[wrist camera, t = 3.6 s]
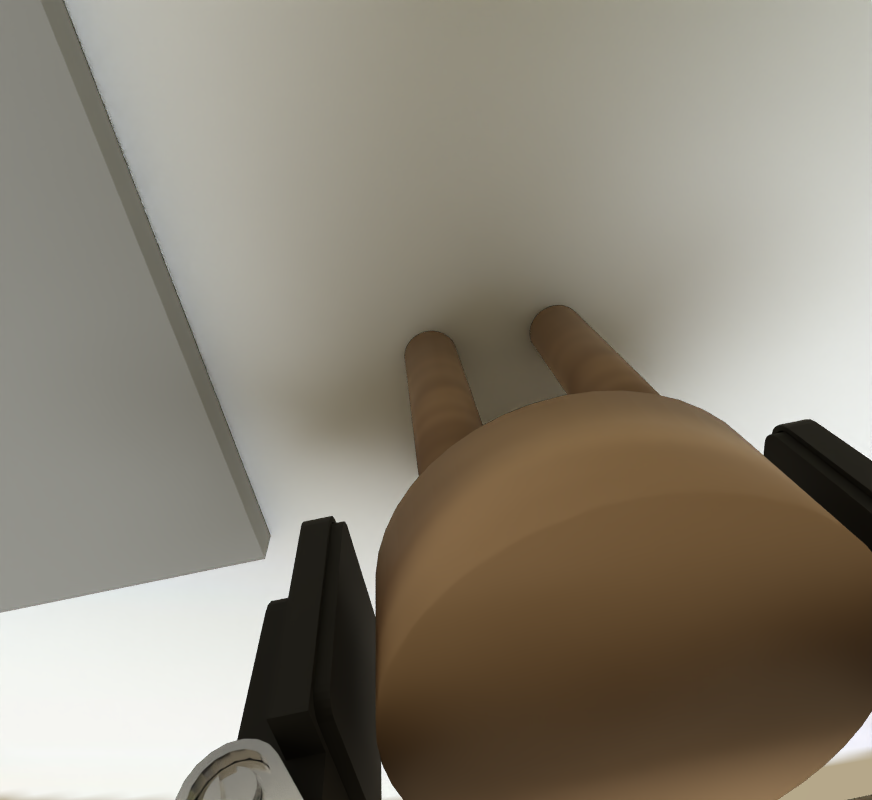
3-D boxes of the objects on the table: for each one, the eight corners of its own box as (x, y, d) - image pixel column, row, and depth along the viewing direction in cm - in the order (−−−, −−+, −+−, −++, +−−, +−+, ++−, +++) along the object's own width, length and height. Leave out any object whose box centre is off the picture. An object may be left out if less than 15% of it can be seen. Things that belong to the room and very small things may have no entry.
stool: (348, 305, 15) (311, 565, 6) (618, 250, 15) (951, 433, 6) (403, 522, 18) (429, 896, 9) (627, 477, 18) (858, 807, 9)
